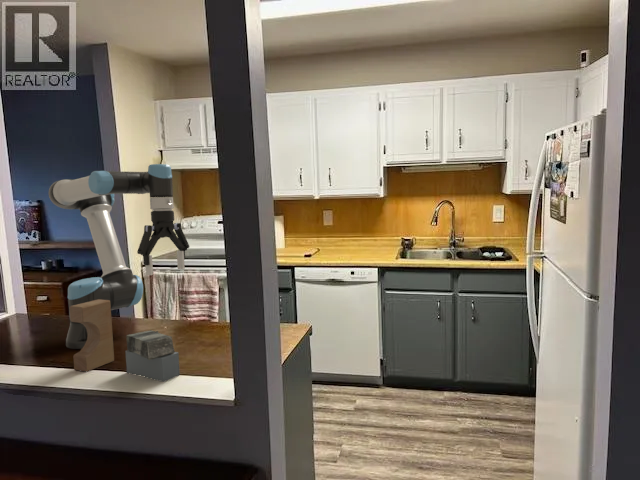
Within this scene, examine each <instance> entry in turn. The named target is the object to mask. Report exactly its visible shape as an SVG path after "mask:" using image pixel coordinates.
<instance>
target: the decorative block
mask: <svg viewBox="0 0 640 480" xmlns="http://www.w3.org/2000/svg"><path fill="white" fill-rule="evenodd" d="M70 320H71V322H78V323H81V324H83V325H84V326H85V327H86V329H87V333H88V335H87V341H86V343H85V345H84V347H83V348H82V349H79V350H80V351H78V352H76V353H75V354H73V357H72V358H73V369H74V370H75V371H78V370H81V371H80V372H84V371H87V372H89V370H90V371H93V370H95V369H98V368H100V367H102V366H105V365H107V364H110V363H113V362H114V361H115V351H114V338H113V335H114V334H113V325H112V322H113V321H112V310H111V306H110V301H109V300H100V299H98V300H94V301H90V302H86V303H82V304H77V305H73V306H70V316H69V321H70Z"/></svg>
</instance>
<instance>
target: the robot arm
mask: <svg viewBox="0 0 640 480" xmlns="http://www.w3.org/2000/svg"><path fill="white" fill-rule="evenodd" d="M173 188H174V187H173V173H172V167H171V165H169V164H168V163H165V164H164V163H163V164H162V163H151V164H149V165H148V168H147V171H115V170H114V171H113V170H111V171H109V170H94V171H92V172H91V173H90V175H87V176H84V177H80V178H76V179H69V178H68V179H61V180H56V181H54V182H53V183H52V184H51V185H50V186H49V189H48V197H49V199H50V201H51V203H52V204H53V205H55V206H56V207H58V208H61V209H64V210H79V211H80V215H81V217H83V218H85V219H86V220H87V224H88V227H89V231H90V233H91V237H92V241H93V243H94V248H95V251H96V254H97V256H98V257H97V258H98V261H99V264H100V266H101V270H102V275H101V276H97V277H96V276H95V277H94V276H93V277H87V278H82V279H79V280H75V281H73V282H72V283H70V284H69V285H68V287H67V303H68V315H69V316H68V317H70V306H73V305H77V304H82V303H86V302H90V301H94V300H98V299H100V300H109V301H110V306H111V311H113V310H118V309H122V308H129V307H131V306H132V307H133V306H135V305H137V304H139V303H140V301H141V300H142V298H143V294H144V284H143V280H142V278H141V277H140V276H139V275H137V274H133V270H132V269H131V268H129V267H127V266H126V265H127V264H126V262H125V258H124V255H123V251H122V249H121V245H120V243H119V239H118V236H117V233H116V230H115V227H114V223H113V220H112V217H111V214H110V213H111V212H112V209H113V208H112V207H113V206H114V204H115V195H117V194H119V195H121V194H122V195H123V194H124V195H125V194H126V195H127V194H128V195H129V194H130V195H132V194H136V195H144V194H149V206H150V210H151V211H150V220H151V222H152V225H144V227H143V235H142V236H141V240H140V243H139V246H138V250H137V253H136V254H138V255H141V256H142V259H143V265H144V266H145V275H147V276H153V275H154V267H153V255H151V253H152V251H153V250H154V248H155V246H156V245H157V243H158V241H159V240H160V239H161V238H162V239H163V238H169V240H170V241H171V242H172V243H173V244H174V246H175V248H177V249H178V250H176V259H177V260H176V261H177V262H176V263H177V270H185V268H186V267H185V260H186V251H188V249H189V248H190V244H189V242H188V240H187V238H186V236H185V233H184V231H183V229H182V224H181V223H180V222H174V221H175V212H174V211H175V210H173V209H174V191H173V190H174V189H173ZM87 335H88V333H87V329H86V327H85V326H84V325H83V324H81V323H78V322H71V320H70V319H69V328H68V330H67V334H66V338H65V346H66V347H65V348H67V349H71V350H81V349H82V348H83V347H84V345H85V343H86V341H87Z"/></svg>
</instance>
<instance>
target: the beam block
mask: <svg viewBox="0 0 640 480" xmlns="http://www.w3.org/2000/svg"><path fill="white" fill-rule="evenodd" d="M179 353H180V352H178V351H175V352H174V354H171V353H169V354H167V355H164V356H160V357H157V358H155V359H151V360H148V359H147V358H145V357H142V356H141V355H139V354H137V353H133V352H132V351H128V349H127V350H125V353H124V354H125V364H126V365H125V366H126V373H127V374H129V373H130V374H129V375H133V374H136V375H135V376H137V375H141V376H145V377H144V378H146V377H148V378H147V379H150V378H152V379H151V380H154V379H155V381H159V382H162V383H165V382H167V381H170V380H171V379H173V378H176V377H179V376H180V375H181V373H180V372H181V371H180V354H179ZM141 376H140V377H141Z"/></svg>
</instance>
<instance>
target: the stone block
mask: <svg viewBox="0 0 640 480" xmlns="http://www.w3.org/2000/svg"><path fill="white" fill-rule="evenodd" d="M125 337H126V347H127V350H128V351H132V352H133V353H137V354H139V355H141V356H142V357H145V358H147V359H148V360H151V359H155V358H157V357H160V356H164V355H167V354H169V353H171V354H174V352H176V351H175V348H174V347H175V346H174V342H173V336H170V335H168V334H163V333H160V332H159V331H158V330H155V331H154V330H152V329H151V330H144V331H140V332H136V333H135V332H134V333H131V334H126V335H125Z"/></svg>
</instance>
